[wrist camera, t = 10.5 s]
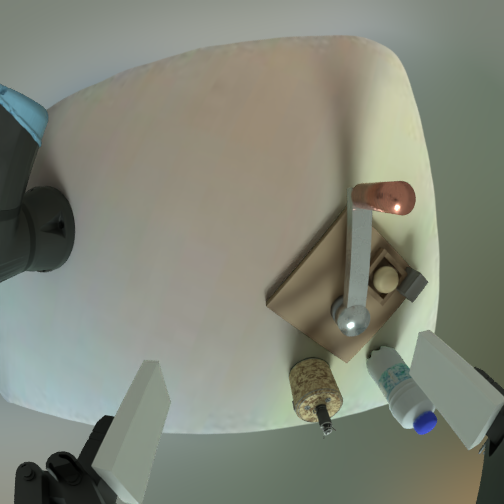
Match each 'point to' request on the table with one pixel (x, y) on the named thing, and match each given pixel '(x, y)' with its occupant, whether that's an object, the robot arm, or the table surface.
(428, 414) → the bottle
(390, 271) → the nut
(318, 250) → the square wooden tray
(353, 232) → the lever
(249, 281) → the table surface
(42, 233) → the robot arm
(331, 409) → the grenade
